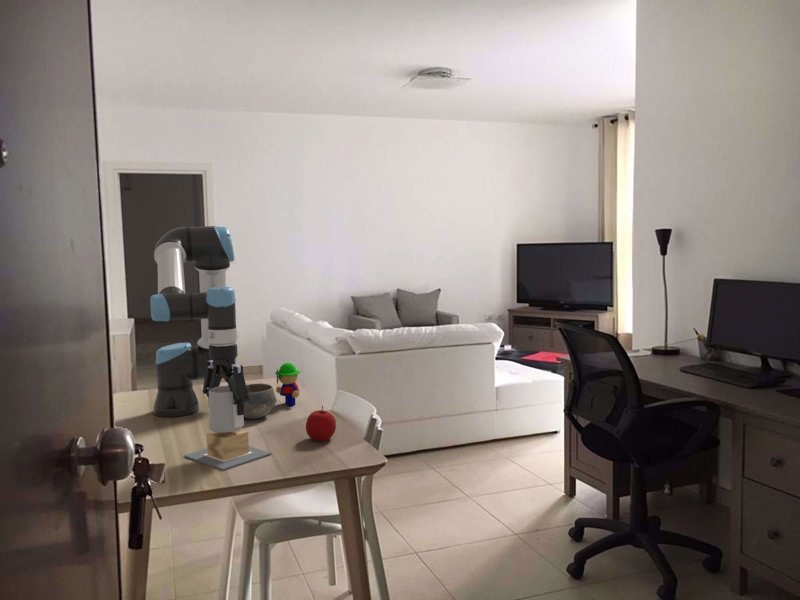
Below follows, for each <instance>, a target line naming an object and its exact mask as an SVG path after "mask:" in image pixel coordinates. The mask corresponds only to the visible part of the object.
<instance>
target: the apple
mask: <svg viewBox="0 0 800 600" xmlns="http://www.w3.org/2000/svg"><path fill="white" fill-rule="evenodd" d="M336 429H337V421H336V418H335V416H334V415H333V414H332V413H331V412H329V411H327V410H324V406H323V405H321V410H317V409H316V410H314V411H313V412H311V413H309V415H308V417H307V419H306V423H305V432H306V434H307V435H308V437H309V438H310V440H312V441H314V442H327V441H328V440H330V439H331V438H332V437H333V436H334V434H335V432H336Z"/></svg>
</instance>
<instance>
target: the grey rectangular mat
mask: <svg viewBox="0 0 800 600" xmlns="http://www.w3.org/2000/svg"><path fill="white" fill-rule="evenodd" d="M271 455H273V453H272V452H270V451H267V450H264V449H260V448H256V447H254V446H251V445H250V446H249V453H246V454H243V455H240V456H237V457H234V458H231V459H228V460H222V459H219V458H216V457H213V456H210V455H207V448H204V449H201V450H197V451H194V452H190V453H187V454H184V458H186V459H189V460H191V461H195V462H197V463H200V464H203V465H206V466H209V467H212V468H215V469H217V470H220V471H227V470H229V469H232V468H235V467H238V466H242V465H245V464H247V463H251V462H254V461H256V460H259V459H262V458H265V457H269V456H271Z"/></svg>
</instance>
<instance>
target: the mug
mask: <svg viewBox="0 0 800 600" xmlns="http://www.w3.org/2000/svg"><path fill="white" fill-rule="evenodd" d="M238 399H239V398H238ZM234 402H235V401H234V398H233V391H232V392H231V391H230V388H229V386H228V385H219V387H214V388H211V389H210V390H209V402H208V403H209V405H208V409H209V408H210V416H209V428H210V429H209V430H210V432H218V433H226V432H233V431H237V430H239V429H240V430H242V428H243V426H240V427H237V428H235V427H234V415H233V403H234Z"/></svg>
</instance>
